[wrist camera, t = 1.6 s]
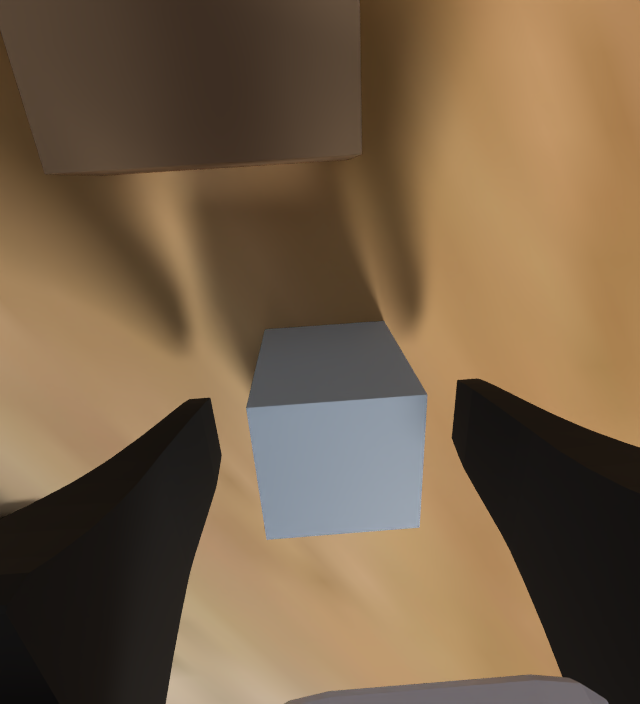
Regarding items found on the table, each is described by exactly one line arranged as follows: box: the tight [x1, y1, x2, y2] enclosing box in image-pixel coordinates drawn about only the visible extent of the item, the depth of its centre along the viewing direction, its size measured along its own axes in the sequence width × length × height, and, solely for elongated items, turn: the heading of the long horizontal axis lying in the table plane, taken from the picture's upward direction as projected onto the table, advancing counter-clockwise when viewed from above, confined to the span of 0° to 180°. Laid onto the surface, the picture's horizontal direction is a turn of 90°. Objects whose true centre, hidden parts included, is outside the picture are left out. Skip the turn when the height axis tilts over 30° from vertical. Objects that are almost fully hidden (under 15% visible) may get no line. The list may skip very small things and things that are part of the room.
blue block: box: [246, 321, 427, 540], centre depth 12 cm, size 4×4×5 cm
